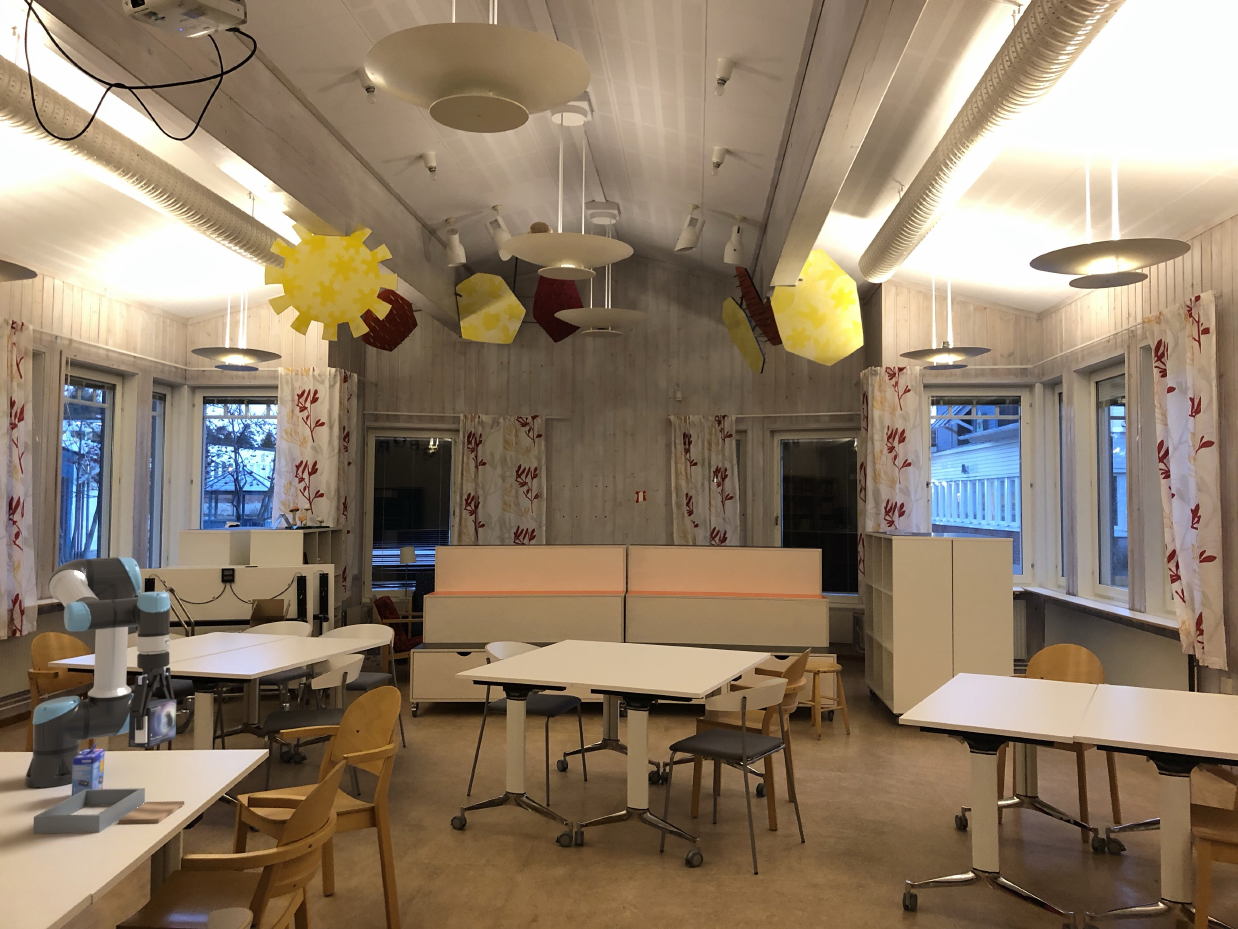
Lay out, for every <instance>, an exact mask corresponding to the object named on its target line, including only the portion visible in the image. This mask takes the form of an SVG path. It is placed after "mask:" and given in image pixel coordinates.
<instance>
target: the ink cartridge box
mask: <svg viewBox="0 0 1238 929" xmlns="http://www.w3.org/2000/svg"><path fill="white" fill-rule="evenodd" d="M97 745H98V742H95V743H94V744H93V745H92V746H91V747H90V748H87V749H83V750H81V752H80V754H78V755H77V756H75V757H74V758H73V773H72V783H71V797H72V796H73V795H75V794H77V793H79V792H81V791H83V790H85V789H104V774H105V773H104V771H105V748H96V746H97Z"/></svg>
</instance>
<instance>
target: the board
mask: <svg viewBox="0 0 1238 929" xmlns="http://www.w3.org/2000/svg"><path fill="white" fill-rule="evenodd" d="M182 805H184V806H185V801H183V800H176V801H173V800H172V801H146V802H145V803H144V804H142V805H141V806H139V807H138V808H136V809H135V810H133V811H131V812H130V813H128V814H127V815H125V816H124V817H122V818H120V819H119V820H118V824H119V825H120V824H122V825H126V824H129V823H132V824H159V823H161V822H162V821H163V820H165V819H166V818H168V817H169V816H171V815H172V814H174V813H175V812H176V811H178V810H179V809H180V808H179V807H181V806H182ZM182 807H183V806H182ZM182 807H181V808H182ZM178 808H179V809H178ZM177 809H178V810H177ZM174 811H175V812H174ZM173 812H174V813H173ZM170 814H171V815H170Z"/></svg>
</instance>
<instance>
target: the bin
mask: <svg viewBox="0 0 1238 929" xmlns="http://www.w3.org/2000/svg"><path fill="white" fill-rule="evenodd" d="M145 795H146V788H144V787H143V788H142V787H137V788H136V787H135V788H134V787H133V788H132V787H131V788H103V789H85V790H83V791H81V792H79V793H77V794H75V795H73V796H72V795H71V796H69V797H68V798H66V799H64V800H62V801H60V802H58V803H57V804H54V805H53V806H51V807H49V808H48V809H46V810H44V811H42V812H40V813H39V814H38V813H37V814H36V815H35V816H33V834H78V833H79V834H80V833H83V834H84V833H85V834H86V833H100V832H102V831H103V830H105V829H107V828H108V827H110V826H112V825H113V824H114V823H116V822H119V819H120V818H122V817H124V816H125V815H127V814H128V813H130V812H131V811H133V810H135V809H136V808H137V807H139V806H141V805H142V804H143V803H146V802H145V801H146V798H145V797H146V796H145ZM86 805H87V806H88V805H89V806H109V807H107V808H106V809H105V810H102V811H101V812H99V813H98V814H97V813H96V814H92V813H91V814H74V813H76V812H78V811H80V810H81V809H83V808H85V807H87V806H86ZM84 806H85V807H84Z"/></svg>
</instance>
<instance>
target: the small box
mask: <svg viewBox="0 0 1238 929" xmlns="http://www.w3.org/2000/svg"><path fill="white" fill-rule="evenodd" d="M130 711H131V706H130ZM130 711H129V732H128V744H127V747H128V748H140V749H142V748H143V749H150V748H153V747H155V746H158V745H160V744H164V743H166V742H167V743H168V742H169V741H172V740H175V739H176V736H177V735H176V734H177V732H176V730H177V729H176V728H177V726H176V725H177V723H176V721H177V699H175V698H174V699H158V697H156V698H153V699H150V702H149V705H148V707H147V712H146V715H145V716H148V719H147V742H146V743H135V717H131V716H130Z"/></svg>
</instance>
